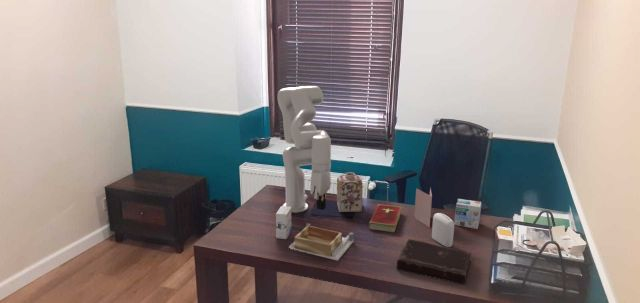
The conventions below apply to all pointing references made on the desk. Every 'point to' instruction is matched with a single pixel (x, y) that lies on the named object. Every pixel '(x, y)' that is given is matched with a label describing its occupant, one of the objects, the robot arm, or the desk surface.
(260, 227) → the desk surface
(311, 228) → the crate
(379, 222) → the hardcover book
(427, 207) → the greeting card
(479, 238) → the desk surface
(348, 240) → the grey flat slab
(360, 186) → the decorative jar
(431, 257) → the diary
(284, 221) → the ink box
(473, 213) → the light bulb box
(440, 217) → the photo printer
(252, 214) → the desk surface
